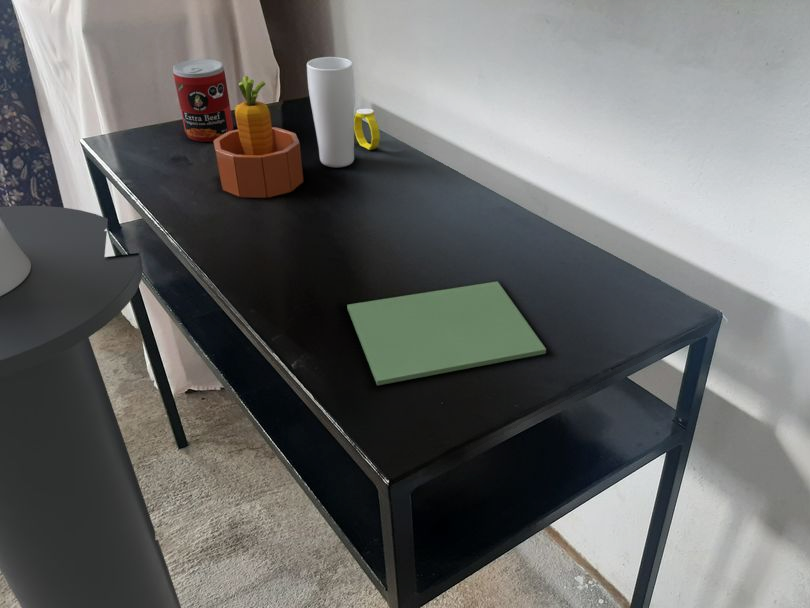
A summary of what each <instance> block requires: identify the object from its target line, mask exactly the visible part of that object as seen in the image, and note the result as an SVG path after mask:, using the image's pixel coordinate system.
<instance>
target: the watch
mask: <svg viewBox="0 0 810 608" xmlns="http://www.w3.org/2000/svg"><path fill="white" fill-rule="evenodd" d="M363 119H365V120H366V121H367V124H368V127H369V130H370V135H371V141H370V143H369V142H368V141H367V139H366V137H365V133H364V131H363ZM354 136H355V139H356V141H357V142H358V144H359V146H360V147H362V148H365V149H366V150H368V151H371V150H375V149H377V148H378V146H379V145H380V140H381V139H380V138H381V134H380V127H379V124H378V122H377V120H376V118H375V110H374V109H371V108H360V109H357V110H356V113H355V116H354Z"/></svg>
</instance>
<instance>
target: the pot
mask: <svg viewBox="0 0 810 608" xmlns="http://www.w3.org/2000/svg"><path fill="white" fill-rule="evenodd" d="M272 139H273V144H272V153H269V154H264V155H245V153H244V150H243V147H242V144H241V140H240V136H239V132H238V129H233V131H228V132H226V133H225V134H223V135H221V136H220V137H218V138H216V139H215V140H214V141H213V146H214V152H215V157H216V158H215V159H216V163H217V168H218V173H219V174H218V175H219V180H220V186H221V190H222V191H224V192H227V193H229V194H231V195H234V196H236V197H239V198H255V199H256V198H259V199H263V198H264V199H267V198H272V197H276V196H280V195H284V194H289V193H291V192H293V191H295V189H296V188H298V187H299V186H301V185H302V184H303V182H304V173H303V165H302V164H303V162H302V154H301V144H300V140H299V138H298V136H297V134H296V132H292V131H289V130H287V129H283V128H280V127H276V126H274V127H273V126H272Z"/></svg>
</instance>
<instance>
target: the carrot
mask: <svg viewBox="0 0 810 608" xmlns="http://www.w3.org/2000/svg"><path fill="white" fill-rule="evenodd" d="M254 82H255V80H254V79H252V78H249V76H248V75H246V76H243V77H242V81H240V82H239V83H238V87H239V90H240V92H241V94H242V96H243V97H244V99H245V101H243V102H240V103H239V104H237V105H236V106H235V107H234V115H235V121H236V127H237V130H238V132H239V136H240V140H241V144H242V147H243V150H244V153H245V155H264V154H269V153H272V144H273V139H272V127H273V126H272V118H271V111H270V109H269V107H268V105H267V104H266V103H265V102H262V101H258V100H257V99H258V96H259V94H258V93H259V92H260V91H261V89H262V88H263V87H264V86H265V85H266V82H265V81H261V82H259V83H258V84H256V86H255V88H254Z"/></svg>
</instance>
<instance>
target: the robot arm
mask: <svg viewBox="0 0 810 608" xmlns="http://www.w3.org/2000/svg"><path fill="white" fill-rule="evenodd" d="M30 270H31V262H30V260H29V258H28V257H27V256H26V255H25V254H24V253H23V251H22V250H21V249H20V247H19V246H18V245H17V243H16V242H15V240H14V239H13V238H12V236H11V234H10V233H9V231H8V229H7V228H6V226H5V224H4V223H3V221H2V219H1V217H0V296H2V295H4V294H6V293H8V292H9V291H11V290H13V289H14V288H15V287H17V286H18V285H19V284H21V283H22V282H23V281H24V280H25V279H26V277H27V276H28V274H29V273H30Z"/></svg>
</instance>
